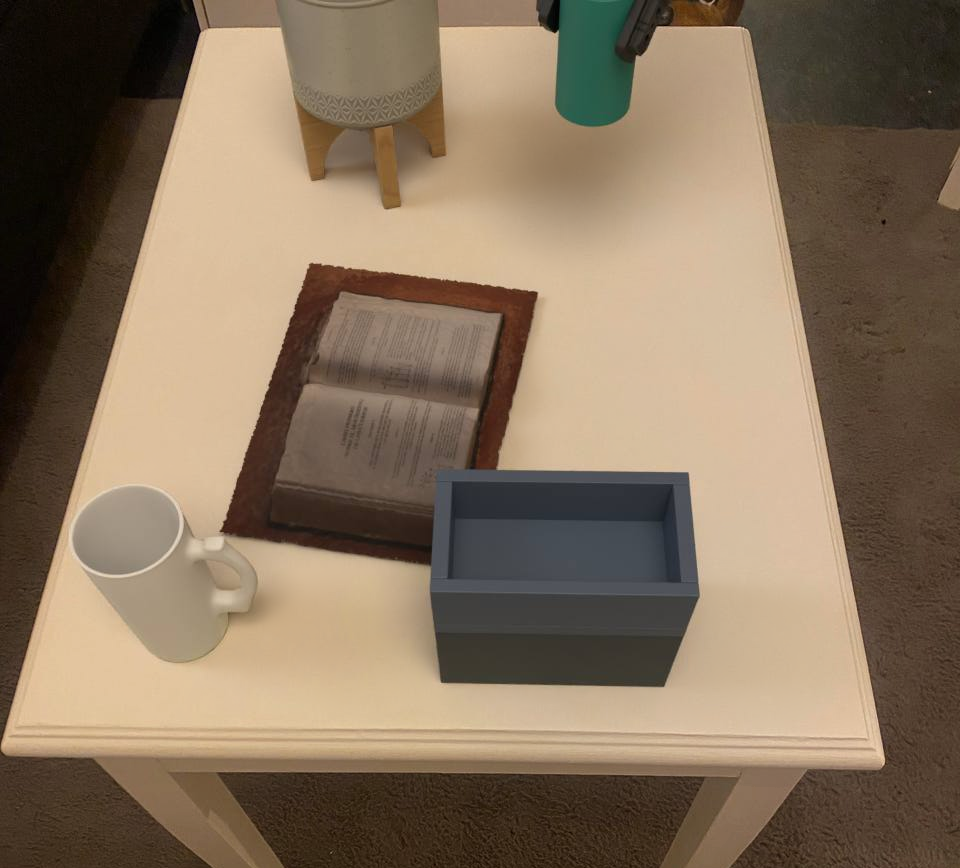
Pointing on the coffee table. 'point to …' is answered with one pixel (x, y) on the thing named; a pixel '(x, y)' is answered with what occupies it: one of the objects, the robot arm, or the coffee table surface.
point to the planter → (364, 76)
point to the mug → (158, 570)
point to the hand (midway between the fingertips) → (584, 41)
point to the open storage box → (561, 576)
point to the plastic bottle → (592, 62)
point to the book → (379, 409)
